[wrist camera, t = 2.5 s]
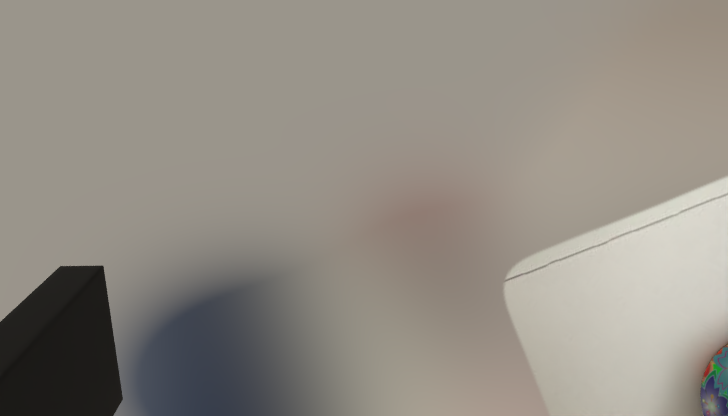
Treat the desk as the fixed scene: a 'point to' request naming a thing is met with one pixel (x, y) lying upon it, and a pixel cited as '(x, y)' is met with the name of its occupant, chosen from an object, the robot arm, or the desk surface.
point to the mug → (716, 385)
